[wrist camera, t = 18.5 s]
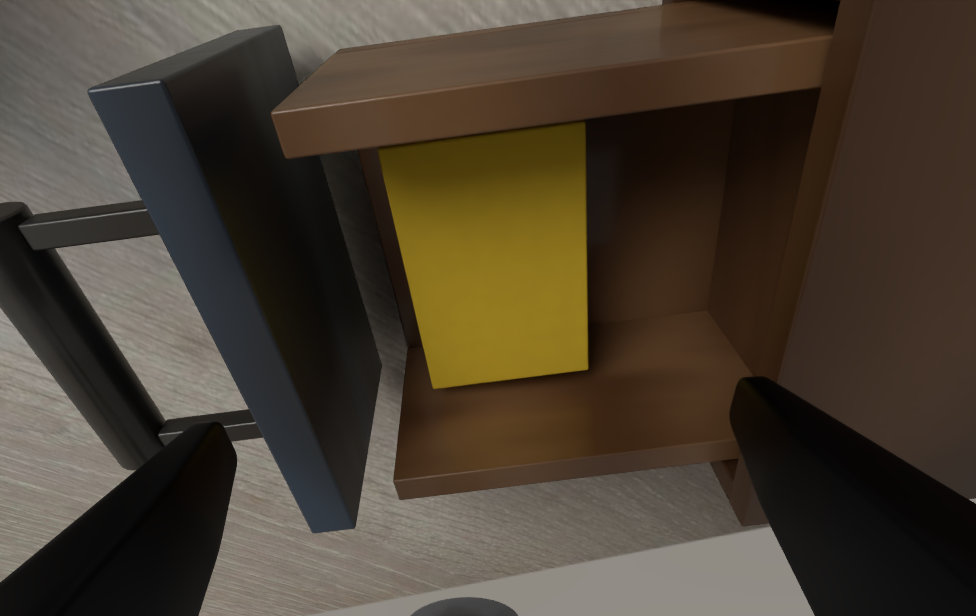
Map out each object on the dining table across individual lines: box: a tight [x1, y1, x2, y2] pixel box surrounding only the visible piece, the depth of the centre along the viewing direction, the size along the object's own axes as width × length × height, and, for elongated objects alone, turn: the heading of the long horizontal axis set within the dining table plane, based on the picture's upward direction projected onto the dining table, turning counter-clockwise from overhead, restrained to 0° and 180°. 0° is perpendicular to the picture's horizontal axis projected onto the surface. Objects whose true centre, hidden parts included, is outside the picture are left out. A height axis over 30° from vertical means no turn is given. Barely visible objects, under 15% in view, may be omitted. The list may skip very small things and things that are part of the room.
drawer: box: [0, 0, 840, 533], centre depth 14 cm, size 18×11×7 cm, turn 97°
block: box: [377, 120, 589, 389], centre depth 15 cm, size 7×4×3 cm, turn 6°
